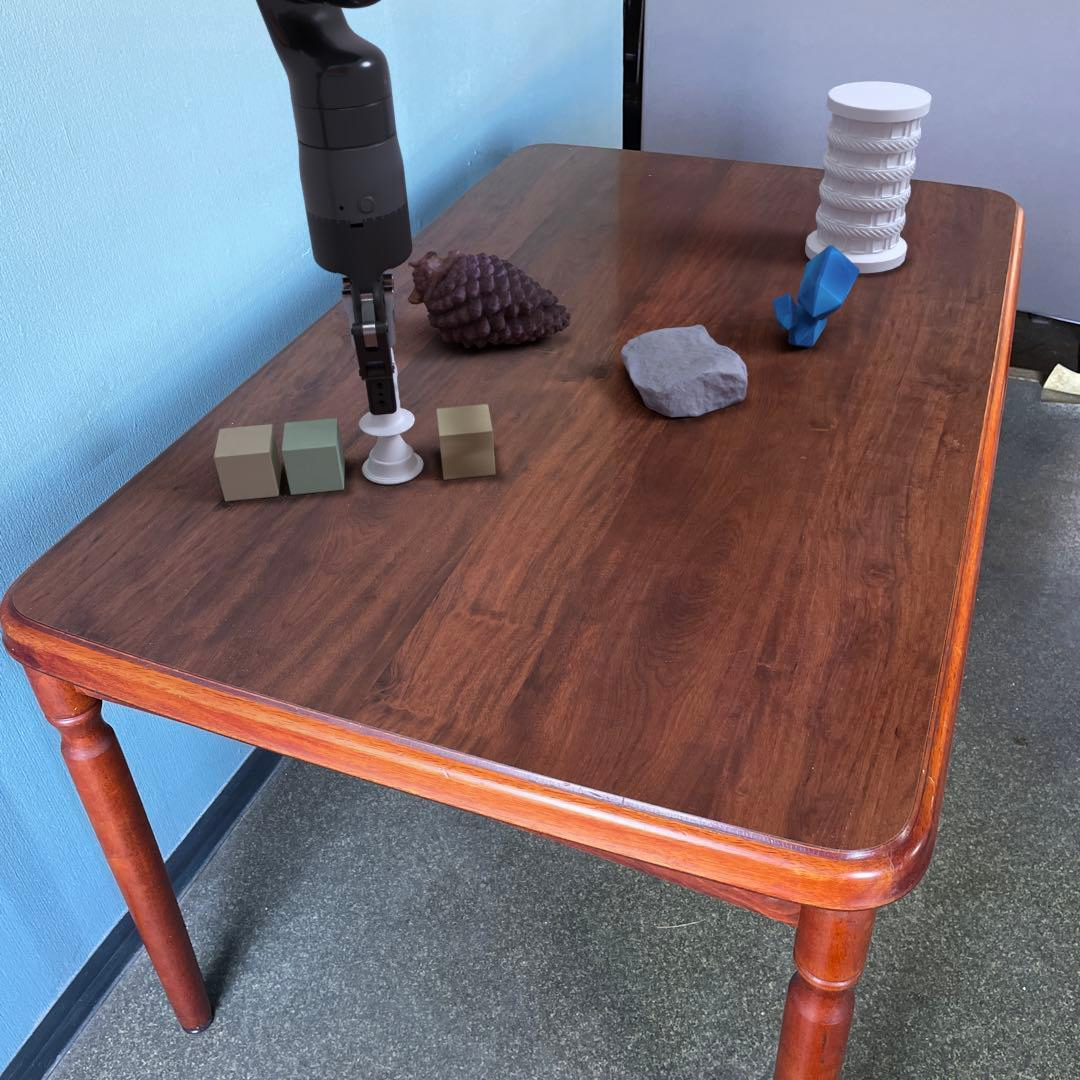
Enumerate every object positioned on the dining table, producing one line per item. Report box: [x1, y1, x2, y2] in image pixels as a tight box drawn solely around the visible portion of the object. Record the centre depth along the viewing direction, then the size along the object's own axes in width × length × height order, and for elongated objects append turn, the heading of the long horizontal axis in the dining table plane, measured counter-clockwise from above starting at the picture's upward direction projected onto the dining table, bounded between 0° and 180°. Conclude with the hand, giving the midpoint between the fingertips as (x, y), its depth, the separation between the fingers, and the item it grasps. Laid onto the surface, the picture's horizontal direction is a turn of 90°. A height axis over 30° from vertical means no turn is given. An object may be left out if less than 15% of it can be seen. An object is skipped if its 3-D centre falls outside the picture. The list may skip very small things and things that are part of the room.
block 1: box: [213, 423, 283, 502], centre depth 91 cm, size 4×4×4 cm
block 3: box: [435, 403, 496, 481], centre depth 93 cm, size 4×4×4 cm
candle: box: [358, 347, 424, 485], centre depth 90 cm, size 5×5×12 cm
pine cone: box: [407, 249, 572, 349], centre depth 110 cm, size 18×10×10 cm
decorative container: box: [804, 80, 933, 274], centre depth 122 cm, size 12×12×18 cm
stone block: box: [620, 324, 749, 418], centre depth 103 cm, size 12×5×10 cm
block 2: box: [281, 417, 346, 496], centre depth 92 cm, size 4×4×4 cm
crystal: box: [772, 245, 860, 349], centre depth 109 cm, size 7×9×12 cm
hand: (383, 399), depth 89 cm, fingers open, 3 cm apart
